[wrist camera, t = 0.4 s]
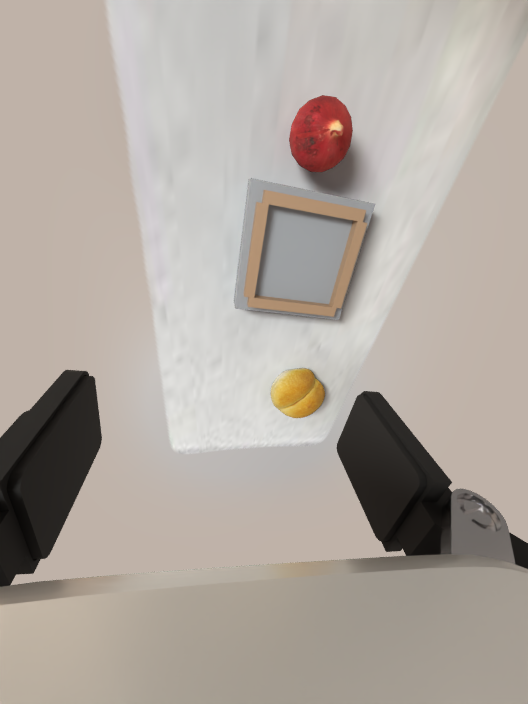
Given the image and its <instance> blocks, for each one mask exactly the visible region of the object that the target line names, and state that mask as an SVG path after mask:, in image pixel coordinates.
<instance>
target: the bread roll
mask: <svg viewBox="0 0 528 704" xmlns="http://www.w3.org/2000/svg"><path fill="white" fill-rule="evenodd" d="M324 397H325V391H324V388H323V385H322V384H321V383H320V382H319V381H318V380H317V379H316V378H315V377H314V374H313V373H312V372H311V371H310V370H308V369H306V368H299V369H292V370H286V371H284V372H282V373H281V374H280V375H279V376H278V377H277V378H276V379H275V381H274V383H273V385H272V388H271V399H272V402H273V404H274V406H275V407H276V408H278V409H279V410H280V411H281V412H282V413H284V414H285V415H287V416H290V417H293V418H303V417H306V416H308V415H310V414H312V413H313V412H314V411H316V410H317V409H318V408H319V407H320V406H321V404H322V402H323V400H324Z"/></svg>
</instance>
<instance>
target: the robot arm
mask: <svg viewBox="0 0 528 704" xmlns="http://www.w3.org/2000/svg"><path fill="white" fill-rule="evenodd" d="M101 440H102V436H101V427H100V419H99V410H98V402H97V394H96V385H95V378H94V377H93V376H89V374H88V372H86V371H75V370H65V371H64V372H63V373H62V374H61V375H60V377H59V378H58V379H57V380H56V381H55V382H54V383H53V385H52V386H51V387H50V388H49V389H48V390H47V391H46V392H45V393H44V395H43V396H42V397H41V398H40V399H39V400H38V401H37V403H36V404H35V405H34V406H33V407H32V409H30V411H26V412H24V413H23V414H22V415H21V416H19V418H18V419H17V420H16V421H15V422H14V423H13V425H12V426H11V427H10V428H9V429H8V430H7V431H6V432H5V433H4V434H3V436H2V437H1V438H0V704H528V543H526V542H524V541H523V540H521V539H520V538H518V537H516V536H515V535H513V534H511V533H509V530H508V526H507V523H506V521H505V519H504V517H503V516H502V515H501V513H500V512H499V511H498V510H497V509H496V508H495V507H494V506H493V505H492V504H491V503H490V502H489V501H487V500H486V499H485V498H483V497H482V496H480V495H478V494H477V493H474V492H472V491H469V490H466V489H456V490H454V491H453V492H451V491H450V489H449V488H448V487H449V486H450V484H451V483H452V482H451V480H450V479H449V478H448V477H447V476H446V474H445V473H444V472H443V471H442V469H441V468H440V467H439V466H438V464H437V463H436V462H435V461H434V459H433V458H432V457H431V456H430V455H429V453H428V452H427V451H426V450H425V448H424V447H423V446H422V445H421V443H420V442H419V441H418V440H417V438H416V437H415V436H414V435H413V434H412V432H411V431H410V430H409V428H408V427H407V426H406V425H405V423H404V422H403V421H402V420H401V418H400V417H399V416H398V415H397V413H396V412H395V411H394V410H393V408H392V407H391V406H390V405H389V403H388V402H387V401H386V400H385V399H384V397H383V396H382V395H381V394H380V393H379V392H368V391H364V392H363V393H361V395H358V396H357V398H356V401H355V403H354V405H353V408H352V410H351V412H350V415H349V417H348V420H347V422H346V424H345V427H344V429H343V431H342V434H341V436H340V438H339V441H338V443H337V452H338V455H339V457H340V459H341V461H342V463H343V466H344V468H345V470H346V472H347V475H348V477H349V479H350V481H351V483H352V486H353V488H354V490H355V492H356V494H357V496H358V499H359V501H360V503H361V505H362V508H363V510H364V512H365V514H366V516H367V519H368V521H369V523H370V525H371V527H372V529H373V532H374V534H375V536H376V538H377V539H378V540H379V541H381V542H382V544H383V546H384V548H385V551H386V552H390V551H401V550H402V548H403V550H404V552H405V554H406V556H397V557H380V558H363V559H346V560H329V561H314V562H299V563H282V564H267V565H251V566H236V567H222V568H207V569H193V570H179V571H164V572H151V573H138V574H123V575H110V576H98V577H87V578H75V579H64V580H53V581H41V582H33V583H26V584H18V585H11V583H12V581H13V579H14V577H15V575H16V574H32V573H34V571H35V569H36V567H37V565H38V563H39V561H40V559H45V558H47V557H48V555H49V554H50V552H51V550H52V548H53V546H54V544H55V542H56V540H57V538H58V536H59V533H60V531H61V529H62V527H63V525H64V523H65V521H66V519H67V516H68V514H69V512H70V510H71V508H72V506H73V504H74V502H75V499H76V497H77V495H78V493H79V491H80V489H81V487H82V485H83V482H84V480H85V478H86V476H87V474H88V472H89V470H90V468H91V465H92V463H93V461H94V459H95V457H96V455H97V452H98V450H99V448H100V445H101Z"/></svg>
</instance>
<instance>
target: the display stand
mask: <svg viewBox="0 0 528 704" xmlns="http://www.w3.org/2000/svg"><path fill="white" fill-rule="evenodd" d="M374 206H375V204H373V203H368V202H364V201H359V200H354V199H349V198H344V197H339V196H334V195H330V194H325V193H320V192H315V191H310V190H305V189H301V188H296V187H291V186H286V185H281V184H276V183H272V182H267V181H262V180H257V179H252V178H251V179H249V181H248V190H247V198H246V206H245V214H244V222H243V231H242V239H241V247H240V255H239V263H238V271H237V280H236V288H235V296H234V304H235V308H236V309H245V310H254V311H263V312H272V313H281V314H290V315H299V316H308V317H317V318H326V319H335V320H339V318H340V314H341V311H342V308H343V305H344V302H345V299H346V295H347V292H348V289H349V286H350V283H351V280H352V276H353V273H354V270H355V267H356V264H357V260H358V257H359V254H360V251H361V248H362V245H363V241H364V238H365V235H366V232H367V229H368V225H369V222H370V219H371V216H372V213H373V210H374Z"/></svg>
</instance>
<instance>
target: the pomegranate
mask: <svg viewBox="0 0 528 704" xmlns="http://www.w3.org/2000/svg"><path fill="white" fill-rule="evenodd" d="M352 131H353V130H352V121H351V116H350V114H349V112H348V110H347V108H346V106H345V105H344V104H343V103H342V102H341V101H339V100H338V99H337V98H336V97H331V96H324V95H322V96H319V97H317V98H314V99H312V100H310V101H308V102H307V103H306V104H305V105H304V106H303V107H301V108H300V109H299V111H298V113H297V115H296V117H295V119H294V121H293V123H292V126H291V132H290V138H289V142H290V147H291V152H292V155H293V157H294V158H295V160H296V161H297V163H298V164H299V165H300V166H301V167H303V168H305V169H307V170H308V171H310V172H323V171H326V170H328V169H331V168H333V167H334V166H336V165H337V164H338V163H339V162H340V161H341V160H342V159H343V158H344V157H345V155H346V153H347V151H348V149H349V147H350V143H351V137H352Z"/></svg>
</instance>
